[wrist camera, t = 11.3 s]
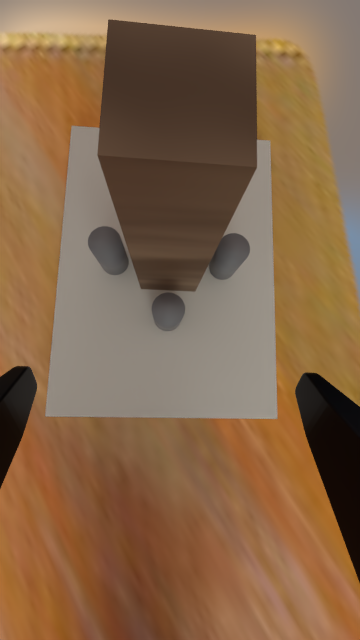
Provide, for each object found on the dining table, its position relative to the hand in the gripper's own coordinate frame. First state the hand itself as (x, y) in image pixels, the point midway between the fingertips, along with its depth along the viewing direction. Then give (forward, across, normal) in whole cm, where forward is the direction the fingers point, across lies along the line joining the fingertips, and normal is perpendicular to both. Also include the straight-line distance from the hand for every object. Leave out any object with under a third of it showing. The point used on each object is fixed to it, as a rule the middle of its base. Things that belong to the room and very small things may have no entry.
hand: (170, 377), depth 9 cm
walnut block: (+12, 0, +2) cm, 13 cm away
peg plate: (+13, 0, +2) cm, 14 cm away
